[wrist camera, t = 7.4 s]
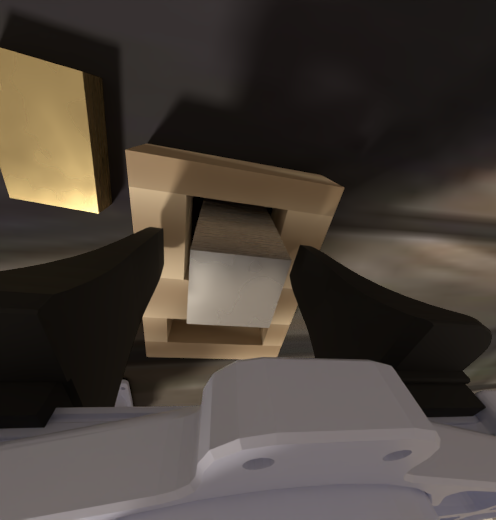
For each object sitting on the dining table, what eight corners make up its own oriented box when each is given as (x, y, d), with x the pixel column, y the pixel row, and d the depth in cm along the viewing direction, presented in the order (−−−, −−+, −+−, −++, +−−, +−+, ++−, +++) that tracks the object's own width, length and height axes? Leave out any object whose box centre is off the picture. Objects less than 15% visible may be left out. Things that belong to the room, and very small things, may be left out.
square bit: (252, 250, 16) (269, 328, 10) (201, 244, 15) (186, 323, 9) (263, 201, 14) (291, 260, 8) (205, 192, 13) (190, 249, 7)
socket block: (269, 330, 20) (275, 360, 18) (157, 325, 19) (146, 357, 16) (321, 175, 13) (344, 187, 11) (146, 143, 12) (124, 149, 9)
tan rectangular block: (114, 201, 13) (98, 213, 12) (38, 187, 13) (9, 197, 11) (105, 79, 10) (82, 71, 9) (4, 50, 10) (-43, 35, 8)
